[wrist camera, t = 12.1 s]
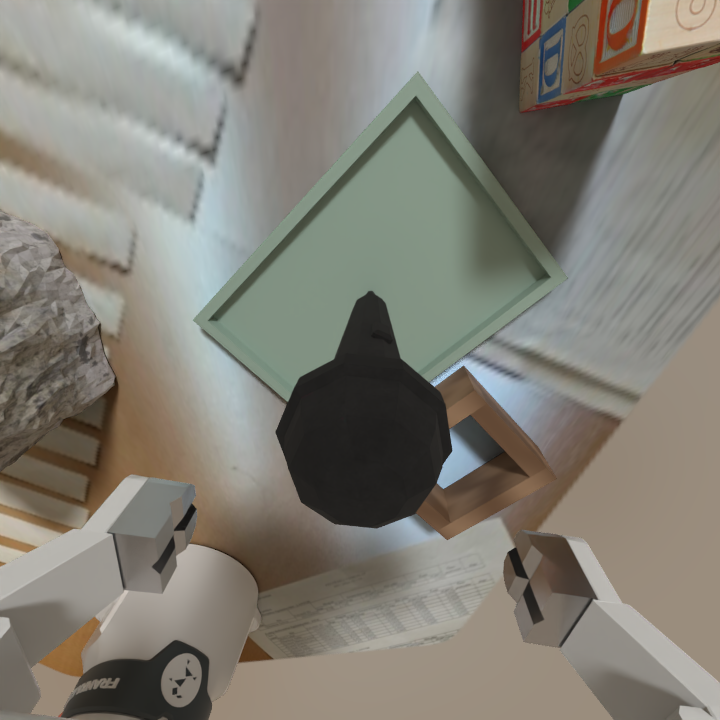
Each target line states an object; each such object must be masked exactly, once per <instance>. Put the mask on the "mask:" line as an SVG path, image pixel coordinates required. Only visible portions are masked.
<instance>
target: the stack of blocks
mask: <svg viewBox="0 0 720 720" xmlns="http://www.w3.org/2000/svg"><path fill="white" fill-rule="evenodd" d="M521 52H522V55H521V68H520V96H519V111H520V113H523V112H528V111H534V110H540V109H546V108H551V107H557V106H562V105H568V104H571V103H574V102H580V101H586V100H592V99H598V98H604V97H609V96H615V95H622V94H625V93H628V92H631V91H634V90H637V89H640V88H642V87H645V86H648V85H651V84H653V83H656V82H659V81H662V80H665V79H668V78H671V77H674V76H677V75H680V74H683V73H686V72H689V71H692V70H695V69H698V68H702V67H706V66H709V65H712V64H715V63H718V62H720V0H523V23H522V51H521Z"/></svg>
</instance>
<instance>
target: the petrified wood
mask: <svg viewBox="0 0 720 720" xmlns="http://www.w3.org/2000/svg"><path fill="white" fill-rule="evenodd" d="M99 324H100V322H99V321H98V320H97V318H96V317H95V314H94V313H93V312H92V310H91V309H90V308H89V306H88V305H87V304H86V301H85V298H84V295H83V293H82V290H81V288H80V285H79V283H78V281H77V279H76V277H75V276H74V274H73V273H72V272H71V271H69V270H68V269H67V268H66V267H65V265H64V263H63V261H62V258H61V255H60V252H59V249H58V247H57V246H56V245H55V243H54V242H53V240H52V239H51V237H50V236H49V234H48V233H47V232H46V231H44V230H42V229H40V228H38V227H37V226H35V225H34V224H32V223H30V222H27V221H24V220H22V219H20V218H18V217H16V216H12V215H9V214H7V213H5V212H4V211H2V210H1V209H0V471H2V470H3V469H4V468H5V467H6V466H9V465H11V464H12V463H14V462H15V461H16V460H17V459H18V458H19V457H20V456H21V455H22V454H23V453H25V452H26V451H27V450H29V449H30V448H31V447H32V446H33V445H35V444H36V443H37V442H38V441H39V440H41V439H42V437H43V436H44V435H45V434H46V433H47V432H49V431H51V430H53V429H54V428H56V427H58V426H59V425H60V424H61V422H62V421H63V419H65V418H68V417H72V416H75V415H78V414H79V413H80V412H82V411H83V410H84V409H86V408H87V407H88V406H91V405H92V404H93V403H94V402H95V401H96V400H97V399H98V398H99V397H101V396H102V395H104V394H105V393H106V392H107V391H108V390H109V389H110V388H111V387H113V386H114V385H115V382H114V379H115V375H114V373H113V371H112V369H111V367H110V365H109V364H108V362H107V359H106V357H105V354H104V352H103V347H102V343H101V340H100V335H99V330H98V326H99Z"/></svg>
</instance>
